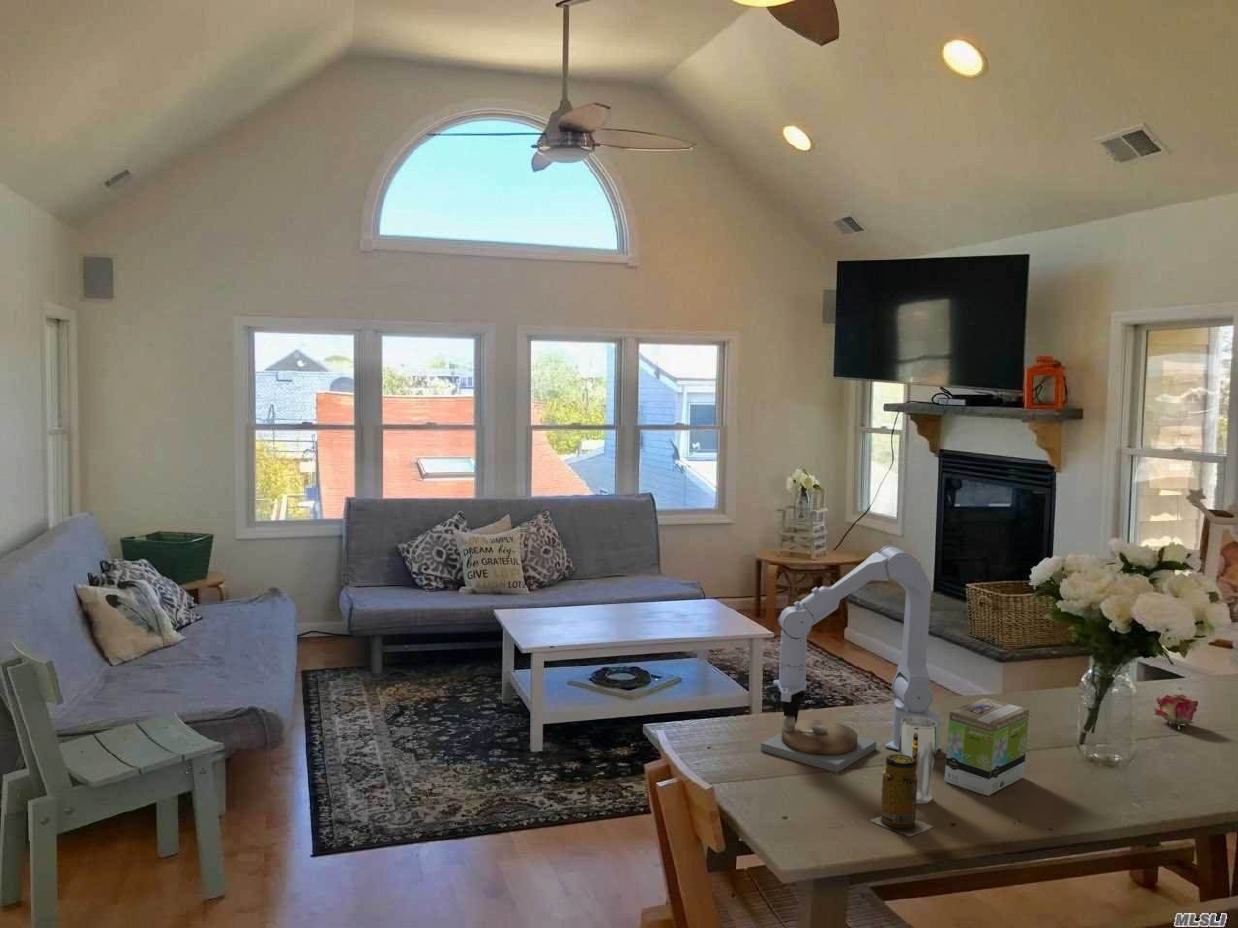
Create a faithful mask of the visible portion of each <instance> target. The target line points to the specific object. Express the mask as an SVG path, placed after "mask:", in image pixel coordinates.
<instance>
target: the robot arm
mask: <svg viewBox="0 0 1238 928" xmlns="http://www.w3.org/2000/svg"><path fill="white" fill-rule="evenodd" d="M888 576H889V577H890V578H891V579H893V580H894V581H896V582H897V583H898V584H899V585H900V586H901V587H902V588H903V589H904V590H905V603H904V605H905V606H904V616H903V618H904V619H903V631H902V634H903V635H902V646H901V648H902V649H901V660H900V663H899V664H898V665H897V667H896V668H897V671H896V674H895V676H894V678H893V680H892V683H891V689H892V692H893V693H894V695H895V696H896V699H895V701H894V703H893V704H894V705H893V723H892V724H893V725H892V739H891V741H889V742H887V743H885V744H884V747H885V748H889V749H892V750H896V751H899V734H900V727H901V719H902V718H904V717H907V716H920V717H925V718H929V719H932V720H934V721H935V722H936V723H937V749H936V752H938V750H939V749H941V745H940V740H941V739H940V736H941V717H940V714H939V713H937V712H934V711H932V710H930V709H929V708H930V707H931V705H932V703H933V699H934V693H933V690H932V689H931V686H930V685H931V684H930V683H931V682H930V680H931V678H930V674H929V672H928V668H927V657H928V644H929V643H928V642H929V641H928V640H929V628H930V627H929V626H930V613H931V602H932V601H931V599H932V584H931V582H930V580H929V578H928V576H927V574H926V573H925V570H924V569H923V566H922V563H921V562H920V561H919V560H918V559H917V558H916V557H914V556H913V555H912V554H911V553H908V552H905V551H904V550H902V549H901V548H900V547H898V546H896V545H891V544H890V545H886V546H883V547H882V548H881V549H880V550H879V551H875V552H874V553H872V554H870V556H868V557H867V558H866V559H865V560H864V561H863V562H861V563H860V564H859V565H857V566H855V568H853V569H852V570H851V571H850V572H848V573H847V574H846V575H844V576H843V577H842V578H840V579H839V580H838V581H836V582H835V583H834V584H833V585H831V586H825V585H822V586H820V587H817V586H816V587H814V588H812V589H811V593H810V594H808V595H807V596H805V597H804V598H803V599H801V600H800V601H798V600H797V601H795V602H794V603H793V606H787V607H785V608H784V609H783V610H782V611H781V614H779V617H778V618H777V621H778V625H779V626H780V628H781V632H780V640H779V641H780V642H779V664H778V665H779V669H778V670H779V672H778V679H774V680H773V682H772V684H773V686H777V687H778V689H779V690H778V691H777V697H778V699H779V701H780V703H781V705H782V711H783V717H784V716H787V715H790V716H794V717H795V724H796V722H797V721H798V717H799V711H800V707H801V705H802V702H803V700H804V698H805V696H806V693H807V692H806V691H804V690H805V689H806V688H807V682H806V677H807V658H808V657H807V655H808V653H807V650H808V647H807V646H808V641H807V639H808V635H809V633H811V630H812V627H813V626H815V625H816V624H817V623H819V622H820V621H821V620H823V619H825V618H826V617H827V616H829V615H830V614H832V613H833V612H835V611H836V610H837V609H838V608H839V607H840V606H839V605H840V601H841V600H842V599H844V598H845V597H847V596H848V595H850V594H852V593H853V592H855V591H857V590H858V589H860V588H861V587H863V586H865V585H866V584H869V582H871V581H882V582H883V581H886V582H888V581H889V579H888V578H889V577H888Z"/></svg>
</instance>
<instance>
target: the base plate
mask: <svg viewBox="0 0 1238 928" xmlns="http://www.w3.org/2000/svg"><path fill="white" fill-rule="evenodd" d="M760 743H761V744H760V751H761V752H764V751H765V752H764V753H767V754H772V755H774V756H777V755H778V757H781V758H785V759H788V760H791V761H795V762H798V763H802V764H806V765H809V766H813V767H816V768H819V769H822V768H823V770H827V771H830V772H833V773H837V774H838V773H839V772H841V771H842V770H844V769H845V768H846V769H847V767H849V766H850V765H852V764H854V763H855V762H857V761H859V760H861V759H862V758H863V757H865V756H867V755H868V754H870V753H872V752H874V751H876V749H877V741H876V740H873V739H869V738H865V737H862V736H858V737H857V747H856V749H855V750H853V751H851V752H848V753H845V754H839V755H818V754H811V753H806V752H802V751H798V750H795V749H793V748H791V747H789V746H787V745H786V744H784V743H783V741H782V732H780V733H778V734H777V735H775V736H772V737H770V738H768V739H766V740H763V741H762V742H760Z"/></svg>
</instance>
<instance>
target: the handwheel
mask: <svg viewBox="0 0 1238 928" xmlns="http://www.w3.org/2000/svg"><path fill="white" fill-rule="evenodd" d="M781 733H782V741H783V743H784V744H786V745H787V746H789V747H791V748H793V749H795V750H798V751H802V752H806V753H811V754H818V755H839V754H845V753H848V752H851V751H853V750H855V749H856V747H857V737H859V736H858V732H857V731H855V730H854V729H853V728H851V727H850V726H847V725H844V724H842V723H838V722H835V721H829V720H824V719H799V720H798V719H797V722H796V724H795V717H794V716H790V715H787V716H784V715H783V726H782V728H781Z"/></svg>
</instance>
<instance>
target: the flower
mask: <svg viewBox="0 0 1238 928" xmlns="http://www.w3.org/2000/svg"><path fill="white" fill-rule="evenodd" d="M1156 698H1157V699H1156V702H1157V704H1158V706H1159V708H1160V709H1159V708H1156V707H1154V709H1153V710H1154V715H1156V716H1158V717H1162V718H1164V720H1165V721H1166V720H1167V722H1171V723H1176V727H1177V726H1179V727H1180V726H1181V724H1186V725H1187V726H1188V725H1189V726H1190V724H1193V723H1196V722H1199V719H1197V720H1195V721H1192V720H1193V717H1194V714H1195V713H1197V711H1198V710H1197V709H1198V708H1197V707H1198V706H1199V701H1198V700H1193V699H1188V698H1187V696H1186V695H1184V694H1182V693H1181V694H1175V695H1169V694H1166V695H1164V697H1160V696H1157V697H1156ZM1167 722H1166V723H1167ZM1181 727H1182V726H1181Z"/></svg>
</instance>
